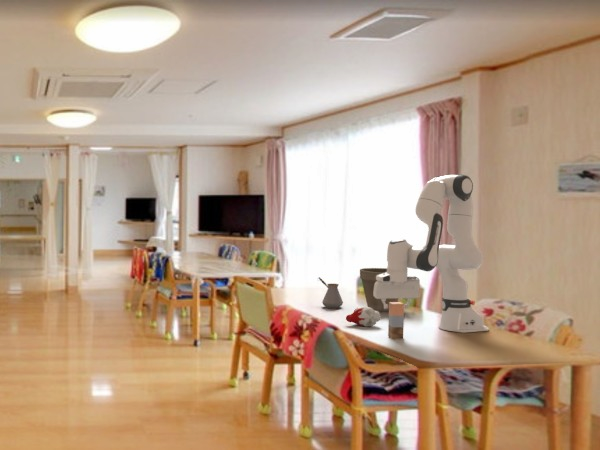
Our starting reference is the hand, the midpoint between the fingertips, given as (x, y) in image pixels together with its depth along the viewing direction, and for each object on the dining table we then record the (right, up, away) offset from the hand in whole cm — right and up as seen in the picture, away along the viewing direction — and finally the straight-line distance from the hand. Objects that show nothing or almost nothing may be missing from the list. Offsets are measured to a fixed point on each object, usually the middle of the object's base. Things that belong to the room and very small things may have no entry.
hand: (396, 308), depth 269 cm
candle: (-12, -12, +26) cm, 31 cm away
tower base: (0, -13, 0) cm, 13 cm away
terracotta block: (0, -3, 0) cm, 3 cm away
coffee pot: (-26, -9, +79) cm, 84 cm away
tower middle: (0, -8, 0) cm, 8 cm away
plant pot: (+3, -10, +70) cm, 71 cm away
